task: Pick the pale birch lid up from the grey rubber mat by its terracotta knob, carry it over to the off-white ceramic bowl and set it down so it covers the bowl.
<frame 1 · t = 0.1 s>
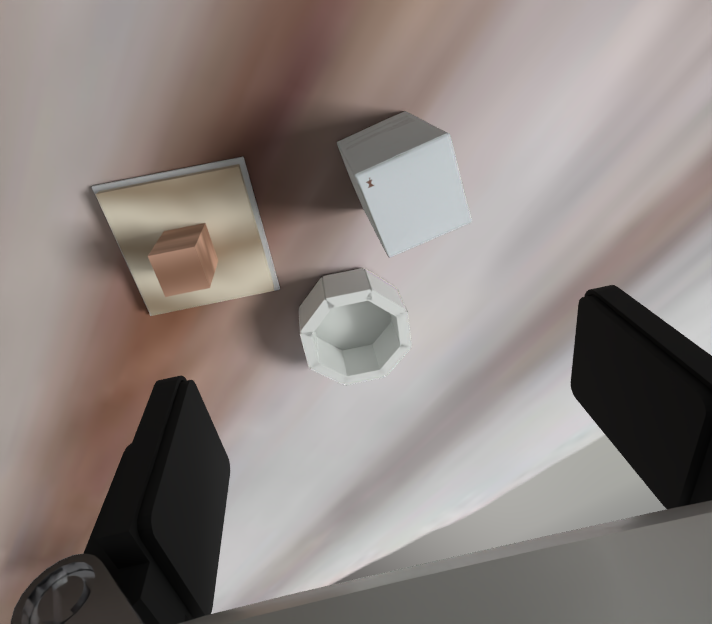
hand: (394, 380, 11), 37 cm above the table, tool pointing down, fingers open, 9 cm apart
mat: (194, 240, 46), on the table
supplement box: (384, 161, 45), on the table
bowl: (350, 313, 53), on the table
lid: (187, 256, 43), on the mat
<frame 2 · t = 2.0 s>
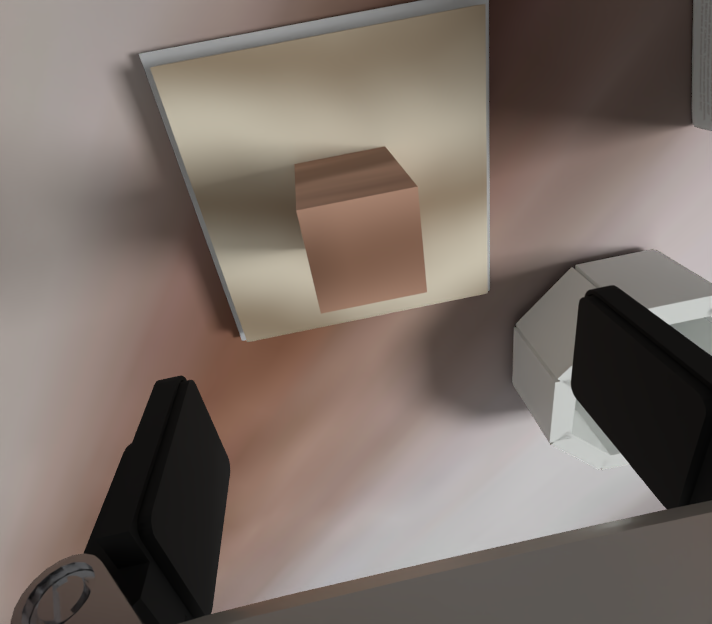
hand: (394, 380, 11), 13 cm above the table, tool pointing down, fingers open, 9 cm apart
mat: (344, 190, 22), on the table
bowl: (596, 333, 29), on the table
lid: (354, 218, 19), on the mat
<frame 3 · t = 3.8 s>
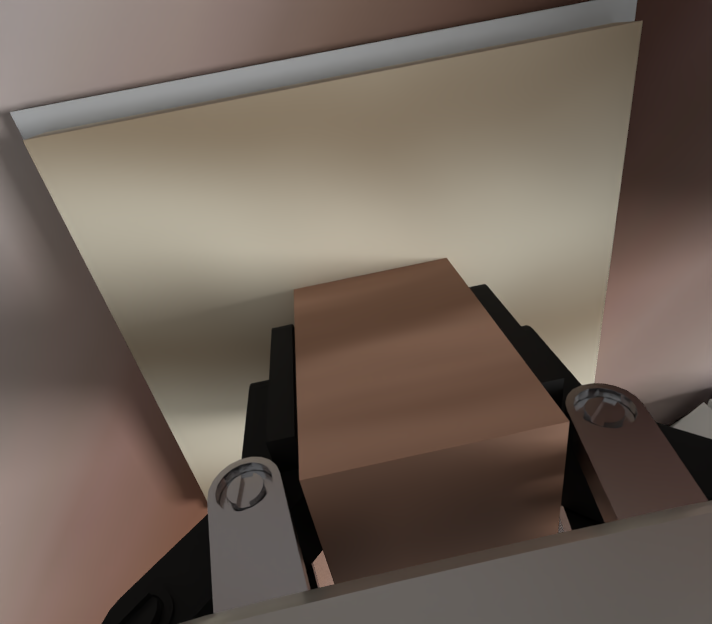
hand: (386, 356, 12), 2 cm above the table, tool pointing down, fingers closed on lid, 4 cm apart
mat: (372, 312, 14), on the table
lid: (399, 396, 11), on the mat, touching gripper
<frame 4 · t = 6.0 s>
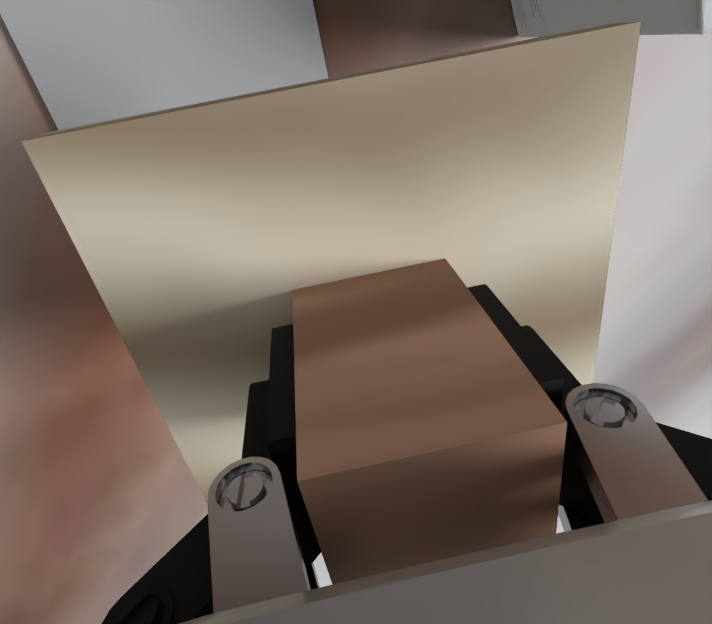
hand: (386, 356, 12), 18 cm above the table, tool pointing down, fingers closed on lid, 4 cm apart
mat: (196, 106, 24), on the table
lid: (398, 396, 11), point 19 cm above the table, touching gripper
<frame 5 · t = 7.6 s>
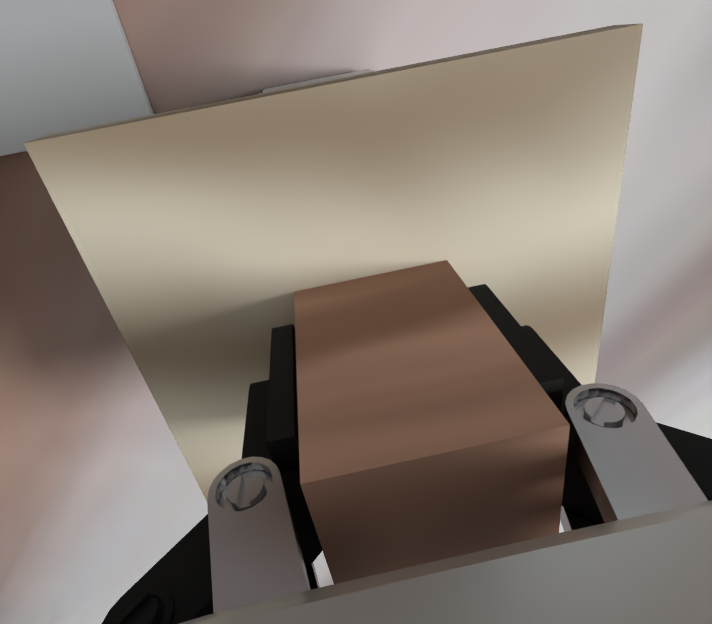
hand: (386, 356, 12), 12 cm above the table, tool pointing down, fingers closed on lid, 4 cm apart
bowl: (338, 204, 23), on the table
lid: (400, 398, 11), point 14 cm above the table, touching gripper
when the fingers open (8 cm above the table, at t = 8.6 s): lid stays where it is, resting on bowl.
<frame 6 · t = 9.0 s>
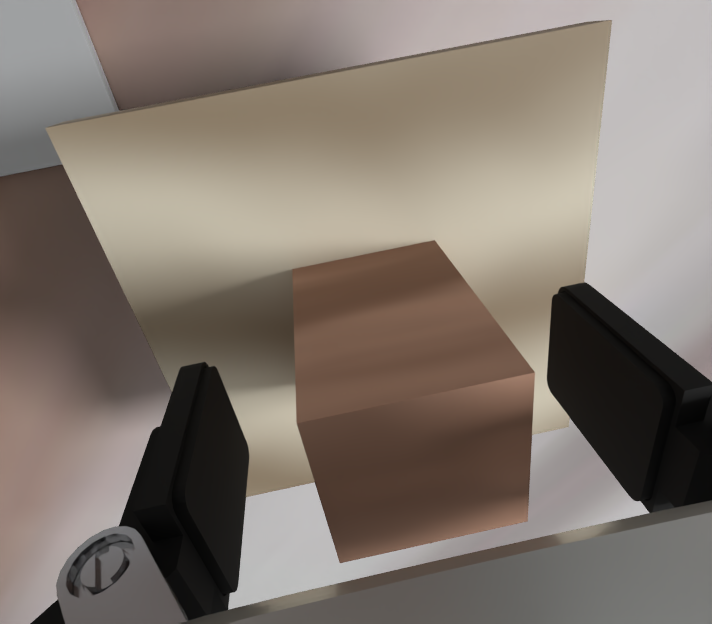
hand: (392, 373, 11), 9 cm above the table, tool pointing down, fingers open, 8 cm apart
lid: (390, 366, 12), on the bowl, point 9 cm above the table
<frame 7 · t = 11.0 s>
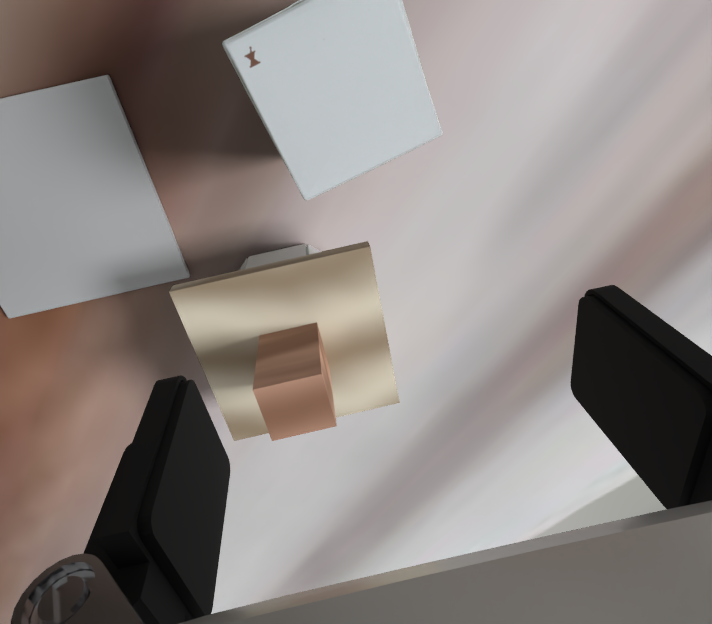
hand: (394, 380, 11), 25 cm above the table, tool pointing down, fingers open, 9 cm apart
mat: (55, 207, 32), on the table
supplement box: (322, 81, 31), on the table
bowl: (295, 310, 38), on the table
lid: (295, 373, 30), on the bowl, point 9 cm above the table
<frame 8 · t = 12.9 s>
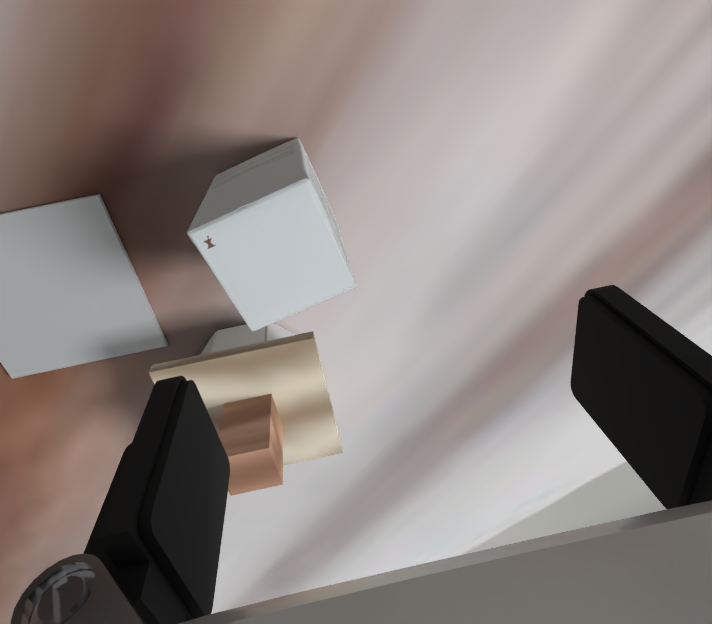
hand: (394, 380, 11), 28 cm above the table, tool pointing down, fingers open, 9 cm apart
mat: (53, 292, 38), on the table
supplement box: (278, 197, 37), on the table
bowl: (258, 370, 45), on the table
lid: (252, 437, 37), on the bowl, point 9 cm above the table
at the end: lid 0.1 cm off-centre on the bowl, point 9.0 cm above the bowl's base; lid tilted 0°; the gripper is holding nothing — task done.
